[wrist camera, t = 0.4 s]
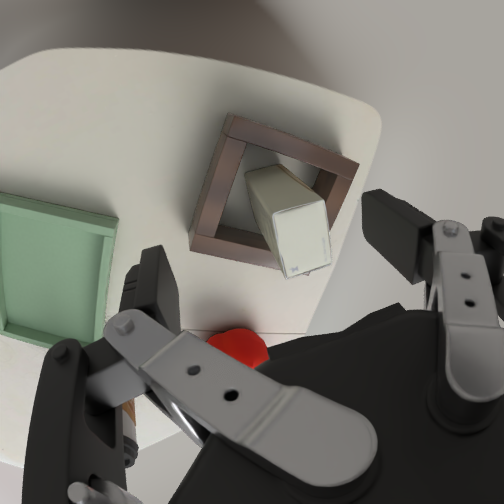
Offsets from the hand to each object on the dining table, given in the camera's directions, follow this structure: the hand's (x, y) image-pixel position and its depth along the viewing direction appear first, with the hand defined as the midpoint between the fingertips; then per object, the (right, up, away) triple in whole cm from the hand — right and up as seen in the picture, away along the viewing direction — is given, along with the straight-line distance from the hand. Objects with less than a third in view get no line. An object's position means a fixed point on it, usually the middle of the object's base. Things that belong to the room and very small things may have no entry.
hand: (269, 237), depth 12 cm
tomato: (-4, -13, +33) cm, 36 cm away
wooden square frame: (+1, +6, +23) cm, 24 cm away
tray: (-26, -4, +22) cm, 34 cm away
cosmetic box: (+1, +6, +23) cm, 24 cm away
